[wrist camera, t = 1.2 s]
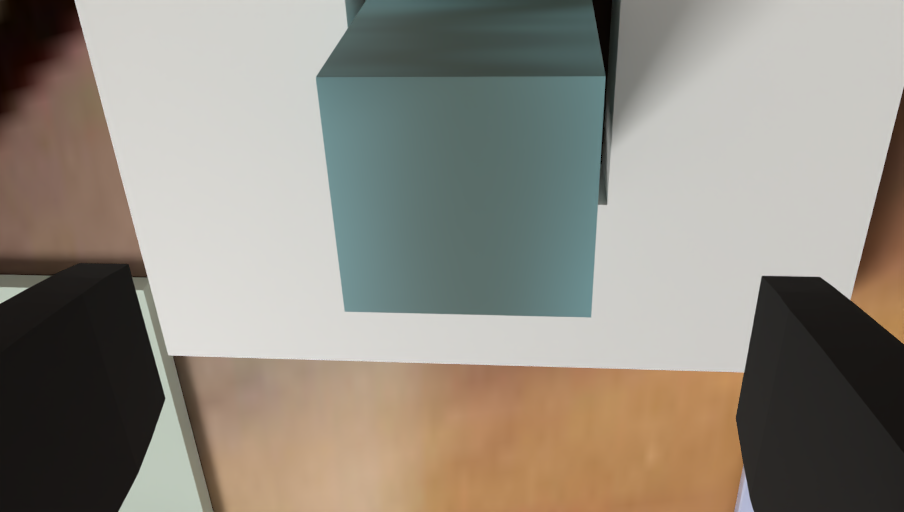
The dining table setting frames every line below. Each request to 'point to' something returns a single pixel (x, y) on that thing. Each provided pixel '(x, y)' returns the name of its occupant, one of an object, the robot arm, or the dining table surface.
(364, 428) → the dining table surface
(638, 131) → the holder
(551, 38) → the block
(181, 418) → the mat
